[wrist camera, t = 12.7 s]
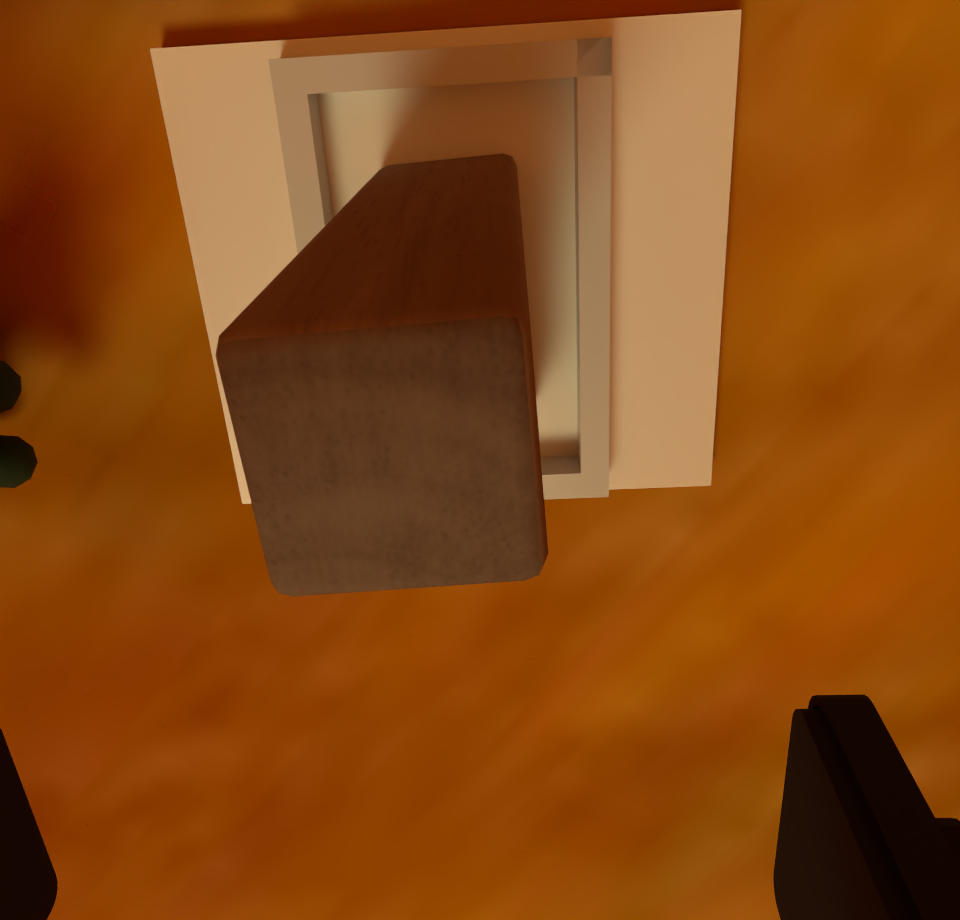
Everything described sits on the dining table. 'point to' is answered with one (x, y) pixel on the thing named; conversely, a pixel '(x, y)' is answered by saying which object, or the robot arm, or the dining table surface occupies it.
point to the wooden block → (395, 391)
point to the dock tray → (542, 190)
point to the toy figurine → (10, 455)
